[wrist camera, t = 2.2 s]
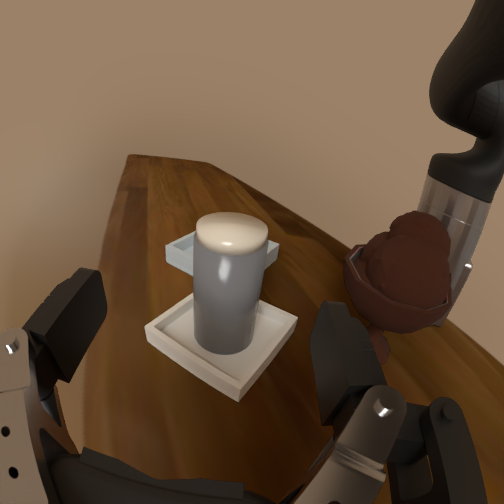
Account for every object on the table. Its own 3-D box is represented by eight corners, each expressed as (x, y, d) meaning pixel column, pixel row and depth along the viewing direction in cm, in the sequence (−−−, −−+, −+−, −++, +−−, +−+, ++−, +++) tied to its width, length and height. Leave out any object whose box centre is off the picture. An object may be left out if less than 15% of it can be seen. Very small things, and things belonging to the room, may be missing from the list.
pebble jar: (263, 329, 27) (283, 226, 21) (231, 365, 22) (243, 252, 17) (217, 305, 29) (224, 206, 24) (181, 334, 25) (177, 225, 19)
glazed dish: (276, 259, 40) (279, 244, 39) (232, 296, 32) (234, 278, 31) (216, 235, 45) (217, 221, 44) (166, 261, 36) (165, 245, 35)
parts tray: (293, 331, 28) (298, 317, 27) (238, 402, 20) (240, 389, 19) (213, 291, 32) (214, 277, 31) (147, 340, 24) (144, 326, 23)
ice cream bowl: (323, 305, 32) (359, 182, 25) (406, 326, 30) (456, 214, 22) (309, 372, 23) (364, 217, 16) (414, 394, 21) (499, 262, 14)
